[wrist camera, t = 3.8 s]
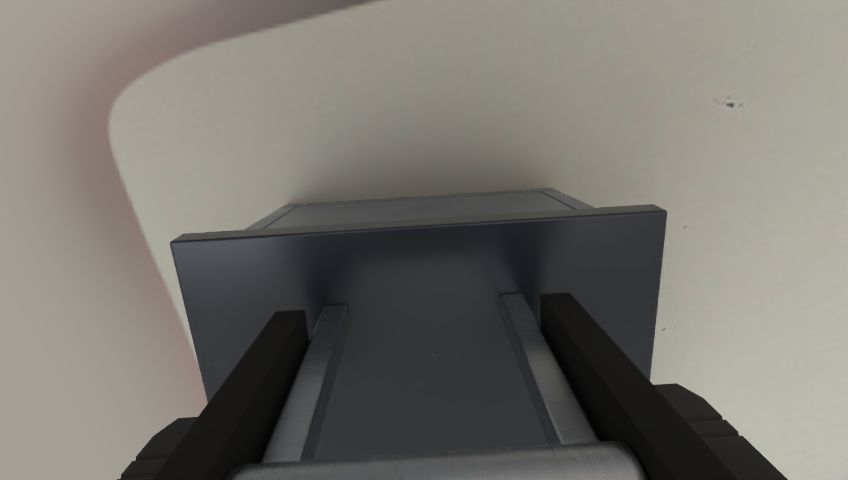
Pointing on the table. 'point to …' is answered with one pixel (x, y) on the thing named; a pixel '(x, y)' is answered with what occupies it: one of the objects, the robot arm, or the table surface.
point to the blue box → (419, 208)
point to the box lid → (429, 339)
